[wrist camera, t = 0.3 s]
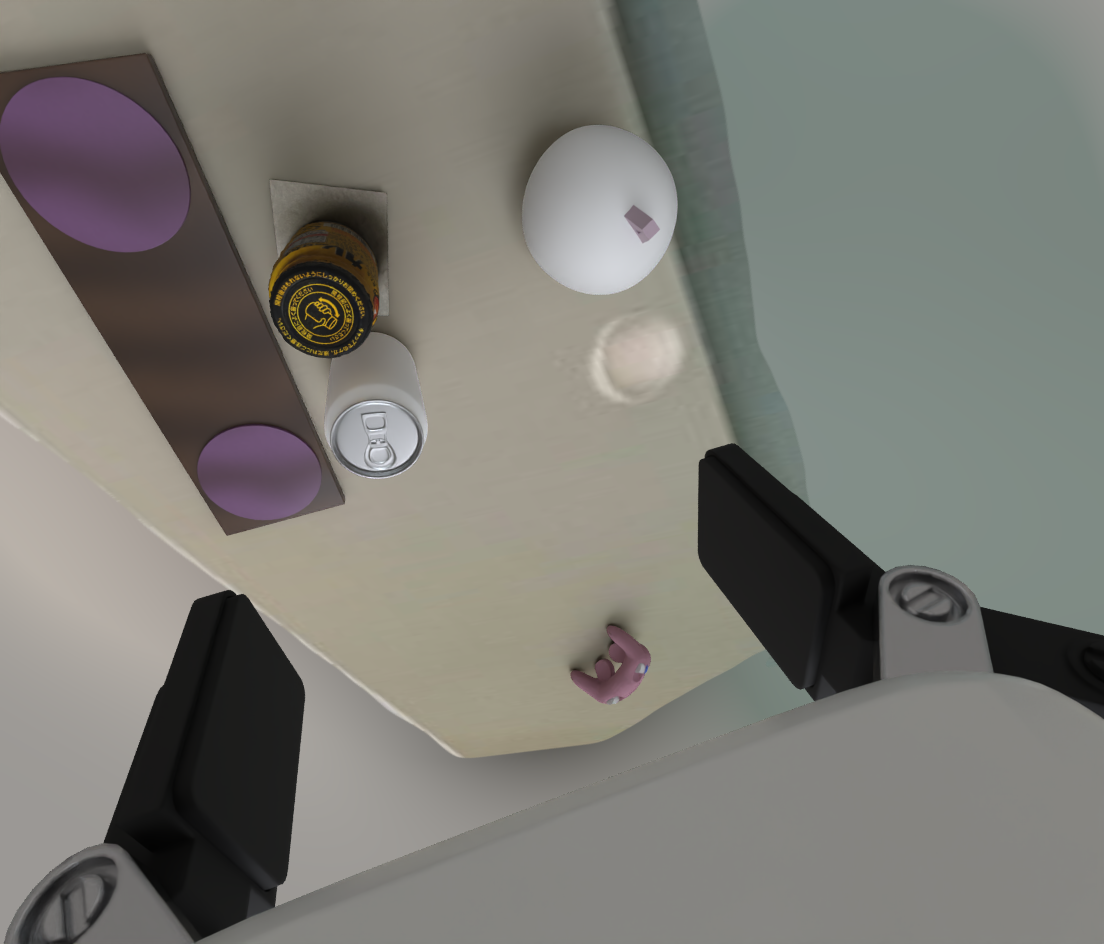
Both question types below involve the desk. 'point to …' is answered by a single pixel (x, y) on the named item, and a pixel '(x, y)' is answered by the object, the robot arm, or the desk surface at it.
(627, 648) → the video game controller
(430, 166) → the desk surface
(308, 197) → the condiment
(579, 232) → the ornament
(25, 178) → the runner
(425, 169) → the desk surface
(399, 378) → the can
